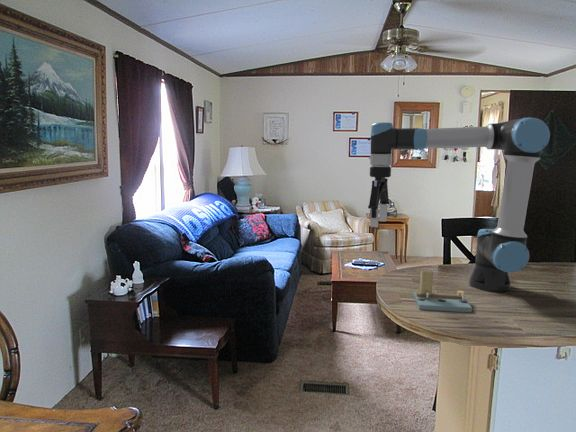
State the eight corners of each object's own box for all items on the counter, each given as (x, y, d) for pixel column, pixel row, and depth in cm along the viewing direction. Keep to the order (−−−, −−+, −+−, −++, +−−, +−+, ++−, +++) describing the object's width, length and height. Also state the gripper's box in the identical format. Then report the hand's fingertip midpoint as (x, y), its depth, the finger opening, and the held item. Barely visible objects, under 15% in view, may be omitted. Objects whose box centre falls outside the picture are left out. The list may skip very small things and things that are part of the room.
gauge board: (461, 298, 166) (462, 287, 165) (471, 312, 152) (472, 300, 151) (413, 296, 168) (413, 285, 167) (419, 309, 154) (419, 297, 153)
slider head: (429, 294, 164) (431, 269, 163) (432, 299, 158) (434, 274, 157) (419, 293, 165) (420, 269, 163) (422, 299, 158) (423, 274, 157)
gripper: (378, 164, 178) (376, 218, 181) (361, 167, 156) (359, 228, 159) (397, 165, 175) (395, 219, 178) (382, 167, 152) (380, 230, 156)
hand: (378, 224), depth 168 cm, fingers open, 13 cm apart
